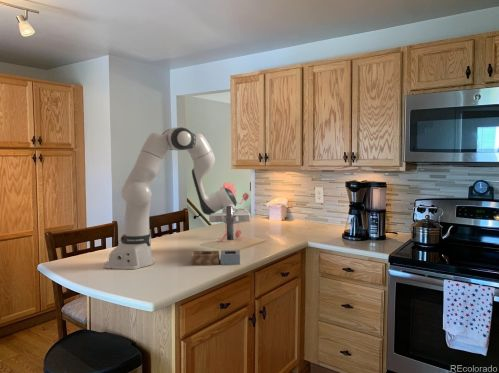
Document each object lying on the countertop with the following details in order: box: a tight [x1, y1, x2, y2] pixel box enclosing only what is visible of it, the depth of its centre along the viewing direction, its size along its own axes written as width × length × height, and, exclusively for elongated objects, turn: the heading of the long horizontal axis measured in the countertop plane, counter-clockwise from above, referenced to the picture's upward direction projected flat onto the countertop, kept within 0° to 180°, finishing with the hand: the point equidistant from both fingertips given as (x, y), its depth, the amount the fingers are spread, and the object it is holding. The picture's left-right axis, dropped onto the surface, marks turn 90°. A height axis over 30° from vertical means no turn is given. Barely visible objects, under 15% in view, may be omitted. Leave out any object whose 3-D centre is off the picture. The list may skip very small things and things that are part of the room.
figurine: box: [212, 182, 250, 243], centre depth 232 cm, size 15×26×35 cm, turn 130°
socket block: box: [220, 249, 241, 266], centre depth 183 cm, size 9×9×4 cm
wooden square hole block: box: [192, 250, 220, 266], centre depth 183 cm, size 12×9×4 cm
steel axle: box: [226, 206, 235, 241], centre depth 182 cm, size 3×3×16 cm
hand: (229, 220), depth 181 cm, fingers closed on steel axle, 3 cm apart
